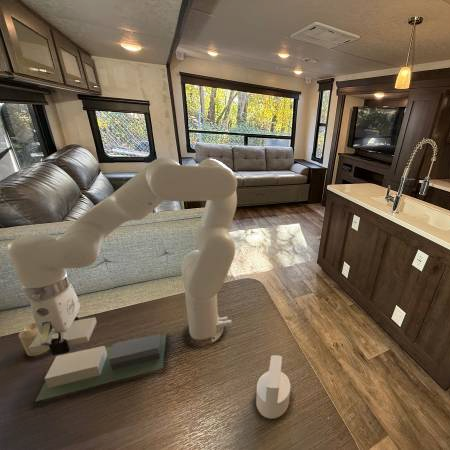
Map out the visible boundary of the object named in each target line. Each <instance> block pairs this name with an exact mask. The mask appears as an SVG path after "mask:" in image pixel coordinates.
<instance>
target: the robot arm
mask: <svg viewBox="0 0 450 450" xmlns="http://www.w3.org/2000/svg"><path fill="white" fill-rule="evenodd" d="M237 178H238V177H237V176H236V174H235V172H234V171H233V170H232V169H231V168H229V167H228V166H227V165H225V164H224V163H223V162H222V161H220V160H217V159H214V158H205V159H203V160H201V162H199V164H198V165H184V164H180V163H179V162H177V160H175V159H173V158H170V157H158V158H156V159H154V160H152V161H151V162H150V163H148V164H147V165H146V166H145V167H144V168H142V169H140V170H139V171H138V172H136V174H135V175H133V177H131V178H130V179H129V180H127V181H126V182H125V183H124V184H122V185H121V186H120V187H119V188H118V189H116V190H115V191H114V192H112V193H111V194H110V195H108V196H107V197H105V198H104V199H103V200H102V201H100V202H98V203H96V204H95V205H94V206H93V207H92V208H90V209H89V210H88V211H86V212H85V213H84V214H83V215H81V216H80V217H79V218H78V219H76V220H75V221H74V222H73V223H72V224H71V225H70V226H68V227H67V229H66V230H65V232H64V233H63V235H62V237H60V238H59V239H56V237H54V236H53V235H51V234H48V233H32V234H27V235H23V236H19V237H17V238H14V239H13V240H11V241H9V243H8V244H7V246H6V251H7V254H8V257H9V259H10V261H11V263H12V266H13V269H14V271H15V273H16V275H17V278H18V280H19V283H20V285H21V288H22V290H23V292H24V294H25V297H26V299H27V300H29V303H30V308H31V313H32V316H33V320H34V323H36V326H37V328H38V331H39V332H40V334H41V335H42V337H41V342H40V344H41V345H45V346H49V347H50V349H49V350H50V352H51V354H52V356H59V355H64V354H69V353H70V351H71V348H70V345H68V343H67V340H66V339H64V335H63V332H66V331H67V330H68V329H69V328H70V326H71V324H72V323H73V321H76V320H80V318H79V316H78V315H79V312H80V309H81V303H80V300H79V298H78V295H77V293H76V290H75V288H74V286H73V284H72V283H71V281H70V278H69V275H68V271H67V269H81V268H86V267H89V266H91V265H93V264H94V263H95V262H96V261H97V260H98V258H99V256H100V253H101V249H102V244H103V241H104V240H105V239H106V238H107V237H108V236H109V235H110V234H111V233H113V232H114V231H115V230H117V229H118V228H119V227H121V225H124V224H125V223H127V222H129V221H140V220H143V219H145V218H146V217H147V216H148V215H149V214H150V213H151V212H153V211H154V210H156V209H157V207H158V206H160V205H161V204H162V203H164V201H169V202H205V206H204V209H203V212H202V216H201V217H200V221H199V223H198V226H197V228H196V230H195V234H194V243H195V246H196V248H197V249H195V250H191V251H190V252H188V253H187V254H186V255H185V256H184V257H183V259H182V261H181V264H180V265H181V266H180V268H181V269H180V270H181V277H182V282H183V289H184V296H185V305H186V314H187V323H188V331H189V335H190V337H191V338H192V339H193V340H196V341H205V340H208V339H211V344H214V343H215V342H217V341H218V340H219V339H220V338H221V336H222V335H223V332H224V327H231V326H233V320H232V319H228V316H227V315H226V316H223V317H221V316H219V310H218V293H219V292H220V291H221V289H222V287H223V286H224V283H225V282H226V279H227V276H228V274H229V271H230V269H231V267H232V265H233V262H234V258H235V256H236V244H235V241H234V239H233V237H232V236H231V234H230V229H231V225H232V223H233V220H234V217H235V213H236V211H237V204H238V195H237V188H238V179H237ZM52 328H53V329H55V330H53V331H52ZM56 333H58V338H54V339H52V334H56Z"/></svg>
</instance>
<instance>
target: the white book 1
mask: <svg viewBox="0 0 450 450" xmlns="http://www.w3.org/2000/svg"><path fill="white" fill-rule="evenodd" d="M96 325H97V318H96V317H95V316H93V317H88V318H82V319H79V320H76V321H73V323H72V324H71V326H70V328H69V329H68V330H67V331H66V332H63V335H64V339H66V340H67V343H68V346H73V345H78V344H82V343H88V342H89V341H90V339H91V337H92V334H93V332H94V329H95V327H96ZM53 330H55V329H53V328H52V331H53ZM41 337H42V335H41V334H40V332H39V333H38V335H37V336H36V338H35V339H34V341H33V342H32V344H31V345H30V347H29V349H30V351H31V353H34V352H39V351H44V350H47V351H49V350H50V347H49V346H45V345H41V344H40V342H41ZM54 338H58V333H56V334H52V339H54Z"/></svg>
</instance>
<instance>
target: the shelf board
mask: <svg viewBox="0 0 450 450" xmlns="http://www.w3.org/2000/svg"><path fill="white" fill-rule="evenodd" d="M166 337H167V334H160V338H161V343H162V344H161V353H160V358H159V359H155V360H151V361H147V362H143V363H139V364H135V365H131V366H127V367H123V368H119V369H115V370H112V368H111V365H110V362H109V357H110V354H111V351H112V347H113V345H110V346H105V349H106V352H107V356H106V359H105V363H104V366H103V369H102V372H101V375H99V376H95V377H91V378H87V379H83V380H79V381H75V382H71V383H67V384H63V385H59V386H55V387H51V388H48V386H47V383H46V381H45V382H44V383H43V385H42V387H41V390H40V391H39V393H38V394H37V397H36V399H35V403H36V402H40V401H43V400H47V399H51V398H54V397H59V396H63V395H66V394H69V393H74V392H78V391H81V390H85V389H90V388H92V387H97V386H100V385H101V386H102V385H103V384H107V383H112V382H115V381H119V380H123V379H127V378H131V377H135V376H138V375H142V374H145V373H150V372H153V371H156V370H161V369H164V359H165V348H166Z"/></svg>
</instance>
